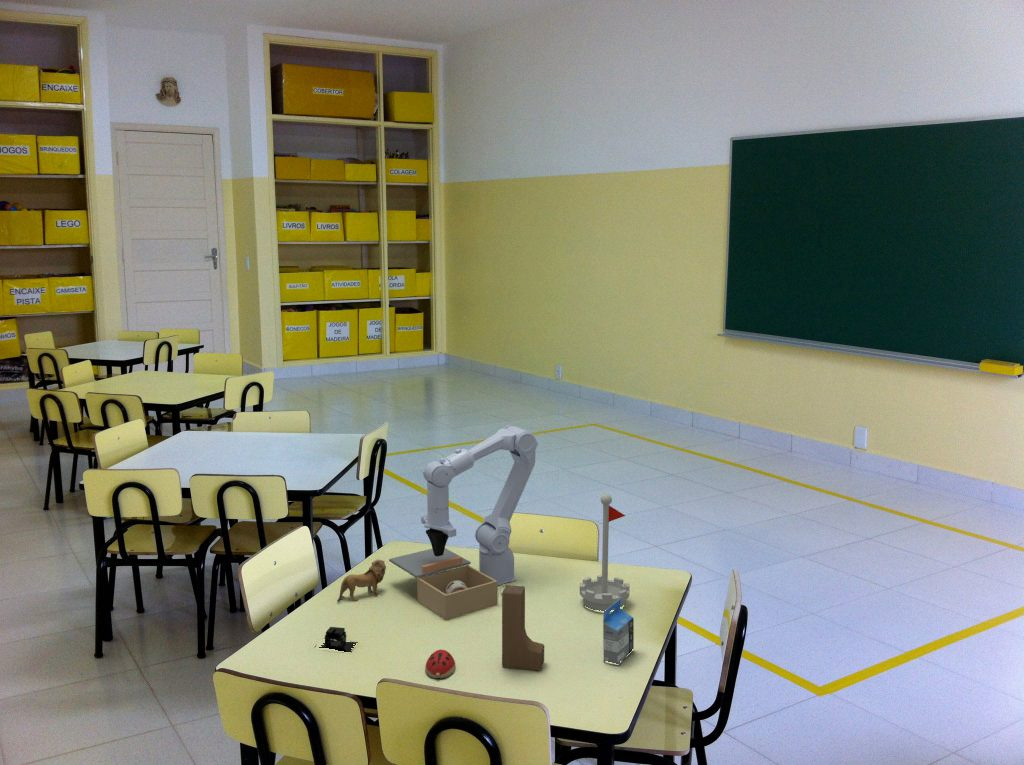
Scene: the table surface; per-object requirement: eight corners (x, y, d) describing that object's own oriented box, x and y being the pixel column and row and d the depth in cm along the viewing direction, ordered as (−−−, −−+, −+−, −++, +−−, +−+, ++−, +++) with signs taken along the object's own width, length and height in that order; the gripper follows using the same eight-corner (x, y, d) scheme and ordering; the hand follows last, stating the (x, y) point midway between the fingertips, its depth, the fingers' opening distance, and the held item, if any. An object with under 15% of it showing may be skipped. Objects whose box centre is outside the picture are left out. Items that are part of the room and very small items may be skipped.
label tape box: (617, 666, 201) (619, 615, 199) (601, 662, 203) (602, 611, 201) (634, 651, 208) (635, 601, 206) (618, 647, 210) (619, 597, 208)
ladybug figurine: (456, 659, 204) (455, 645, 204) (454, 681, 195) (454, 666, 194) (426, 660, 204) (426, 645, 204) (424, 681, 195) (423, 666, 194)
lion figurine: (380, 586, 245) (379, 555, 244) (390, 592, 241) (390, 561, 240) (332, 600, 236) (331, 568, 234) (342, 607, 232) (341, 574, 230)
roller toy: (471, 605, 233) (471, 584, 232) (447, 608, 231) (447, 587, 230) (467, 598, 237) (466, 578, 236) (443, 601, 235) (443, 581, 234)
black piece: (305, 652, 208) (304, 634, 208) (317, 638, 215) (316, 621, 215) (355, 657, 206) (355, 638, 205) (366, 643, 213) (365, 625, 212)
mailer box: (468, 587, 245) (468, 564, 244) (497, 604, 234) (497, 581, 232) (417, 601, 235) (417, 578, 234) (445, 620, 224) (445, 595, 223)
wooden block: (544, 662, 203) (545, 587, 200) (541, 671, 198) (541, 595, 195) (505, 658, 205) (505, 584, 202) (501, 667, 200) (501, 592, 197)
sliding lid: (441, 548, 255) (441, 540, 255) (470, 564, 243) (470, 555, 243) (389, 561, 246) (388, 552, 245) (416, 578, 234) (416, 569, 233)
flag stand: (572, 610, 231) (574, 498, 225) (587, 591, 243) (589, 484, 237) (621, 618, 226) (624, 504, 221) (634, 598, 238) (637, 490, 233)
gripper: (411, 502, 241) (412, 550, 243) (440, 516, 230) (440, 566, 232) (433, 498, 245) (434, 545, 248) (462, 511, 234) (463, 560, 236)
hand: (438, 555), depth 240 cm, fingers closed
